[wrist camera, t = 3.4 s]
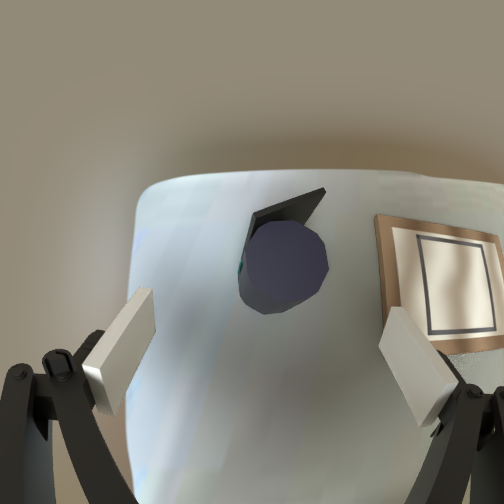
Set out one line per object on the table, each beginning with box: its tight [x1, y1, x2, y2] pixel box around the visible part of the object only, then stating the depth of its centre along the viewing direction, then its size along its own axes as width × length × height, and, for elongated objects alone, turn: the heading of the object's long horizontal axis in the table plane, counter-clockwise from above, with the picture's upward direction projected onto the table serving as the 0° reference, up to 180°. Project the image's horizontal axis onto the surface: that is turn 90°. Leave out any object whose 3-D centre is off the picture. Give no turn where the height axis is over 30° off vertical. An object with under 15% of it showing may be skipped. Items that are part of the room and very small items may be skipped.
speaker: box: [238, 187, 329, 314], centre depth 23 cm, size 8×6×10 cm
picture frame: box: [374, 214, 504, 359], centre depth 27 cm, size 20×15×1 cm
